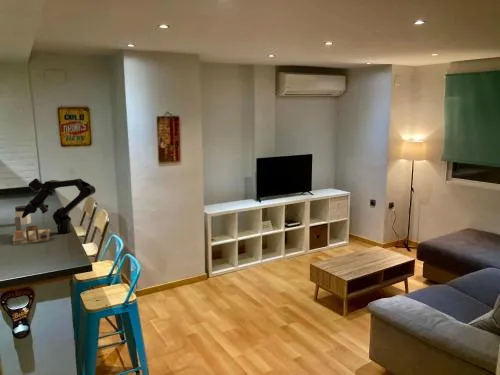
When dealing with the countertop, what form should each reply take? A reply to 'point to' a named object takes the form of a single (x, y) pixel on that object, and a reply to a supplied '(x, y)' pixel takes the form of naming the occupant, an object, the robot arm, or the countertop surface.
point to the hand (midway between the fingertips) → (23, 216)
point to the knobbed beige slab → (19, 230)
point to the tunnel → (31, 228)
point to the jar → (19, 213)
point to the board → (42, 236)
